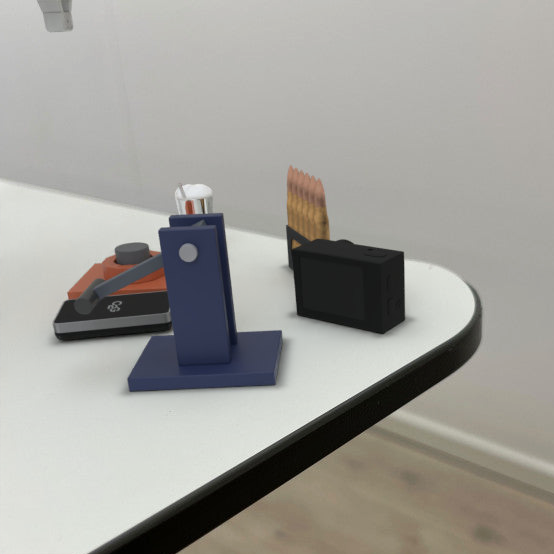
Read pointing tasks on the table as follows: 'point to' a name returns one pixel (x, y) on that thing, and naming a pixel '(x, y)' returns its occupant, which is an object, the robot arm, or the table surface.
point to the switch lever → (118, 281)
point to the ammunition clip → (305, 211)
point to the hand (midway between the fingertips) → (60, 31)
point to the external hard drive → (115, 316)
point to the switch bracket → (203, 318)
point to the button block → (112, 269)
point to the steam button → (132, 253)
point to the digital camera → (350, 284)
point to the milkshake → (194, 199)
